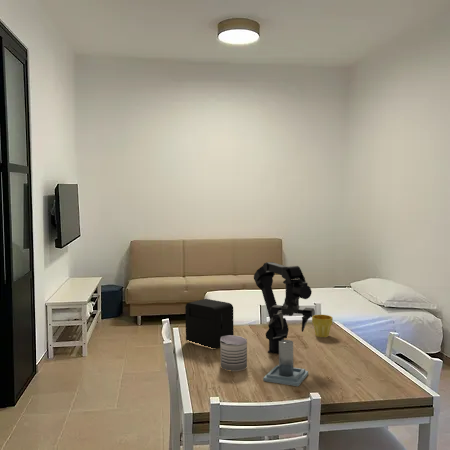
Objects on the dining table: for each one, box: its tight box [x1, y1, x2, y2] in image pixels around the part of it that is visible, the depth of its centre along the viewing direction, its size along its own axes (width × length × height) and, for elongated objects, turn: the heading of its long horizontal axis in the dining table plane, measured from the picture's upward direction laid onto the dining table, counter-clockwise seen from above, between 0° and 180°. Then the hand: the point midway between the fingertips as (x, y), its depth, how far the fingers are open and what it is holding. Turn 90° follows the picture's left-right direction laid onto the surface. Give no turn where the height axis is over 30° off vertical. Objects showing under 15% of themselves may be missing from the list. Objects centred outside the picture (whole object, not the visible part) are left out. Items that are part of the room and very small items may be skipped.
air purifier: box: [184, 298, 235, 349], centre depth 237 cm, size 20×15×20 cm
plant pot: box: [311, 314, 334, 338], centre depth 248 cm, size 10×10×10 cm
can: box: [219, 335, 248, 372], centre depth 204 cm, size 11×11×12 cm
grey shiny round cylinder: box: [278, 339, 294, 377], centre depth 191 cm, size 6×6×13 cm
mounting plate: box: [262, 364, 309, 387], centre depth 191 cm, size 14×14×2 cm
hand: (292, 330), depth 211 cm, fingers open, 9 cm apart
